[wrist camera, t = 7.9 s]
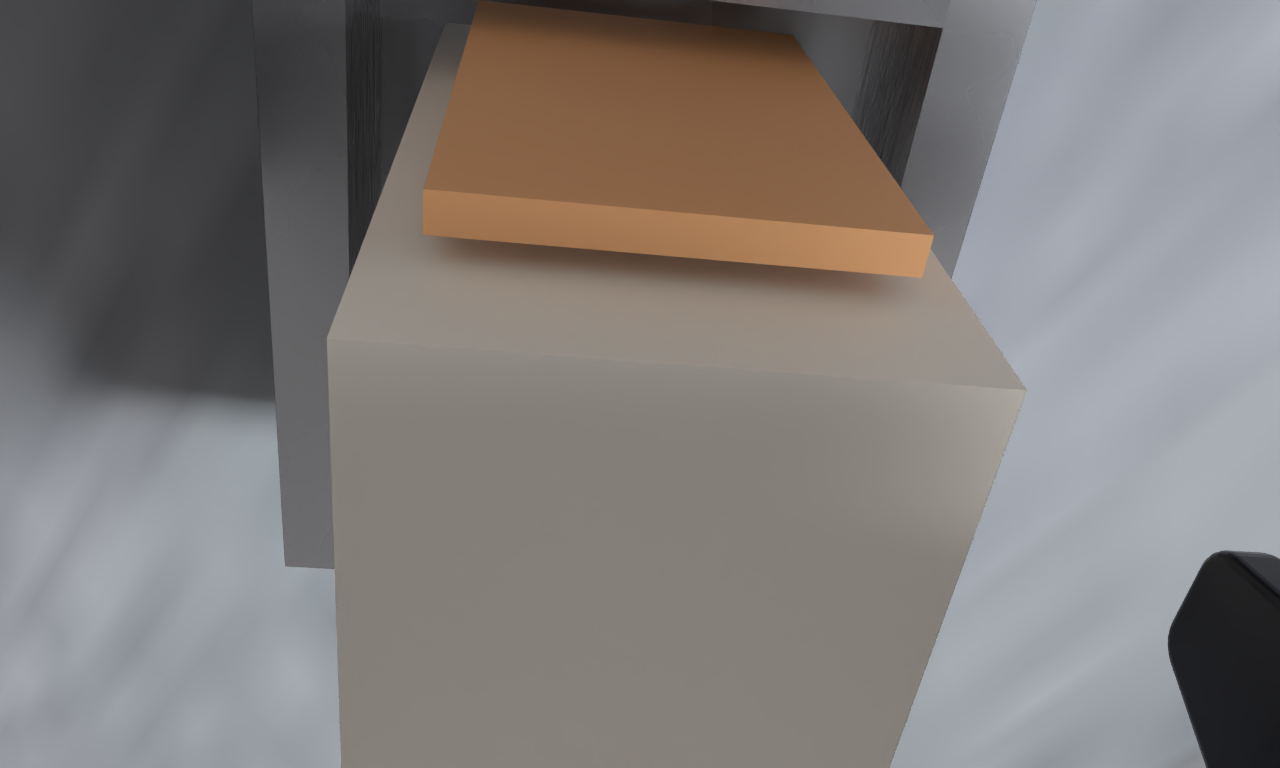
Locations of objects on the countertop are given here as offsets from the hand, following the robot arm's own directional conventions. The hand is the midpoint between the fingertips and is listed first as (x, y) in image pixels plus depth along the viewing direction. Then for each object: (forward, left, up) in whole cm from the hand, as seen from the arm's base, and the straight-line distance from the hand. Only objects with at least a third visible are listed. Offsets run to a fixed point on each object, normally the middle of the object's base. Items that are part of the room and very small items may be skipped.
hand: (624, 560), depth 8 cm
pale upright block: (0, 0, -6) cm, 6 cm away
